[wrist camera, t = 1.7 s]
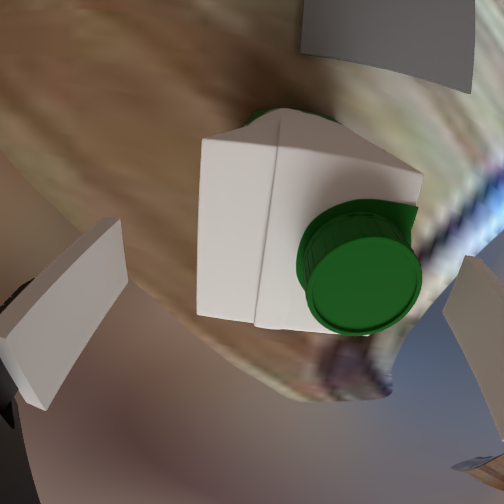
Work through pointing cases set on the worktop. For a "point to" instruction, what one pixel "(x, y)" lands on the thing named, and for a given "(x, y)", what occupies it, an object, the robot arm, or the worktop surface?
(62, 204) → the worktop surface
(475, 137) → the worktop surface
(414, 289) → the soya milk
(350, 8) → the charcoal mat
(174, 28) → the worktop surface
